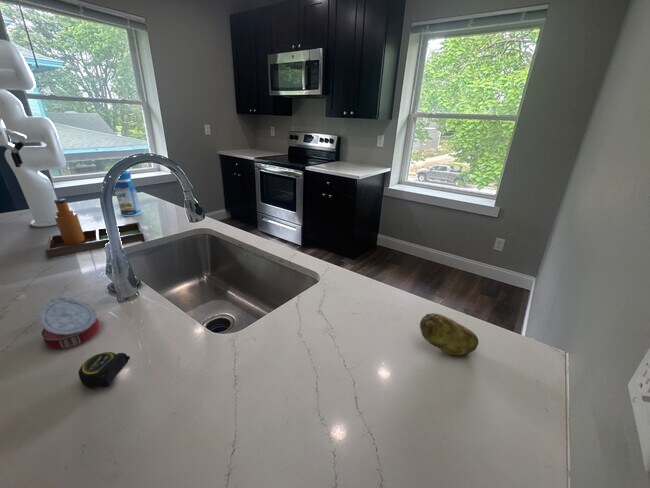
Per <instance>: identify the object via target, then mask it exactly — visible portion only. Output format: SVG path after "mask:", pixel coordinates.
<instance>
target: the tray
mask: <svg viewBox="0 0 650 488" xmlns="http://www.w3.org/2000/svg"><path fill="white" fill-rule="evenodd" d="M117 226H118V228H119V232H120V238H121V241H122V245H127V244H133V243H138V242H141V243H145V242H146V240H145V236H144V232H143V229H142V226H141V224H140V222H139V221H138V222H132V223H131V222H130V223H125V224H119V225H117ZM82 231H83V234H84V237H85V240H86V243H80V244H74V245H69V246H65V244H64V241H63V238H62V236H61V234H54V235H50V236H48V240H47V244H46V247H45V253H46V255H47V258H48V259H52V258H58V257H64V256H67V255H68V256H69V255H75V254H79V253H85V252H90V251H95V250H101V249H105V248H104V247H105V244H106V243H108V242H109V240H108V236H107V233H106V229H105V227H99V228H94V229H86V230H82ZM122 245H121V246H122Z"/></svg>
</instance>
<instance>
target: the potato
mask: <svg viewBox="0 0 650 488" xmlns="http://www.w3.org/2000/svg"><path fill="white" fill-rule="evenodd" d="M419 330H420V333H421V336H422V337H423V339H424V340H425V341H426V342H428V343H429V344H430V345H431V346H433V347H435V348H437V349H439V350H440V351H442V352H443V353H445V354H448V355H451V356H463V355H468V354H470V353H472V352H474V351H475V350H476V349H477V348H478V346H479V337H478V336H477V335H476V333H474V332H473V331H472V330H471V329H469V328H468V327H466V326H464V325H463V324H461V323H459V322H457V321H455V320H454V319H452V318H450V317H447V316H446V315H444V314H439V313H433V312H432V313H427V314H425V315H424V316H422V318H421V320H420V323H419Z"/></svg>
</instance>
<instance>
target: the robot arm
mask: <svg viewBox="0 0 650 488" xmlns="http://www.w3.org/2000/svg"><path fill="white" fill-rule="evenodd" d="M35 88H36V81H35V77H34V75H33V73H32V71H31V69H30V66H29V65H28V63H27V61H26V60H25V57H24V56H23V54H22V53H21V51H20V50H19V49H18V47H17V46H16V45H15V44H14V43H12V42H11V41H9V40H6V39H0V147H4V148H6V150H5V151H4V158H5V160H6V162H7V164H8V165H9V167H10V168H11V170H12V172H13V173H14V176H15V177H16V179H17V182H18V183H19V186H20V189H21V191H22V194H23V196H24V199H25V200H26V203H27V206H28V209H29V210H30V213H31V215H32V218H33V219H32V220H31V221H30V223H29V224H30V225H31V226H32V227H34V228H44V227H45V228H47V227H52V226H58V225H57V222H56V220H55V216H56V215H57V214H56V211H58V209H57V206H56V204H55V202H54V200H56V199H58V198H57V195H56V192H55V189H54V187H53V184H52V181H51V180H50V179H49V177H48V176H47V175H45V174H43V173H42V172H43V171H52V170H62V169H65V168H66V166H67V160H66V156H65V153H64V150H63V147H62V143H61V142H60V141H61V140H60V137H59V136H58V132H57V129H56V127H55V125H54V123H53V122H52V120H50V118H48V117H45V116H36V115H35V116H33V115H32V116H30V115H29V116H28V115H27V113H26V112H25V108H24V105H23V103H22V102H21V101H20V99H19V98H17V97H16V96H15V95H14V94H12V93H11V92H10V91H32V90H34V89H35ZM8 90H9V91H8ZM13 143H16V145H15V144H13ZM26 143H43V144H45V145H25V144H26ZM41 171H42V172H41Z"/></svg>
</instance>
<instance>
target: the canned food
mask: <svg viewBox="0 0 650 488" xmlns="http://www.w3.org/2000/svg"><path fill="white" fill-rule="evenodd" d="M38 317H39V324H40V326H41V327H42V328H43V329H42V330H41V332H40V333H41V337H42V339H43V341H44V343H45V346H46V347H47V348H48V349H50V350H52V351H64V350H69V349H70V350H71V349H73V348H76V347H79V346H81V345H84V344H86V343H87V342H89V341H91V339H93V338H94V337H95V336H96V335H97V334H98V333H99V331H100V329H101V325H100V323H99V320H98V318H97V313H96V310H95V309H94V308H93V307H92V306H91V305H90V304H89V303H85V302H84V301H82V300H78V299H75V298H73V297H65V296H59V297H57V298H52V299H51V300H49V301H48V302H47V303H45V304H44V305H43V306H42V309H41V311H40V312H39V314H38Z"/></svg>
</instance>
